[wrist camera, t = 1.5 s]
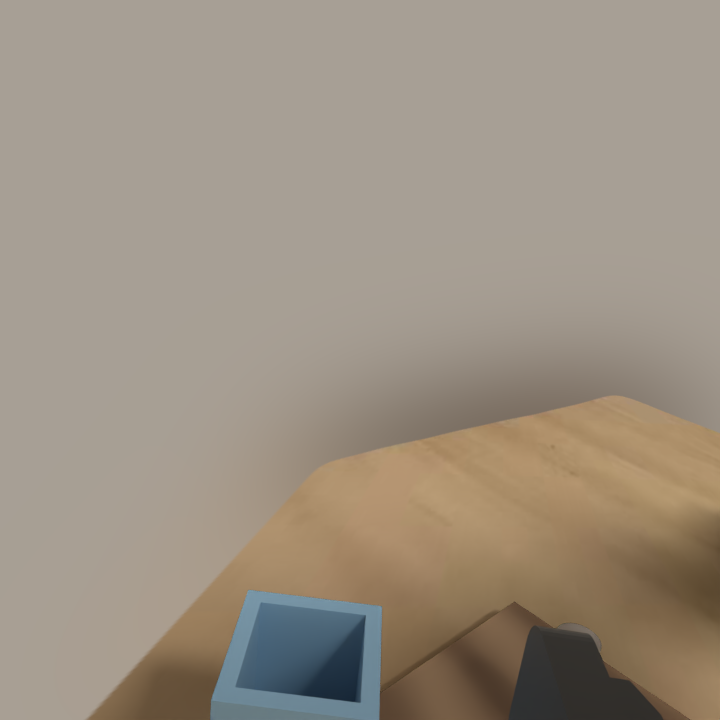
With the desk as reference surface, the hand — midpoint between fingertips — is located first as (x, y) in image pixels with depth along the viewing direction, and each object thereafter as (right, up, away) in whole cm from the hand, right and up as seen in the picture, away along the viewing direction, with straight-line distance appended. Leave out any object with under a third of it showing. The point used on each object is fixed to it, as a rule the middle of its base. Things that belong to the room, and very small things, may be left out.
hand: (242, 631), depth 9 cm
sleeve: (-1, -17, +16) cm, 23 cm away
